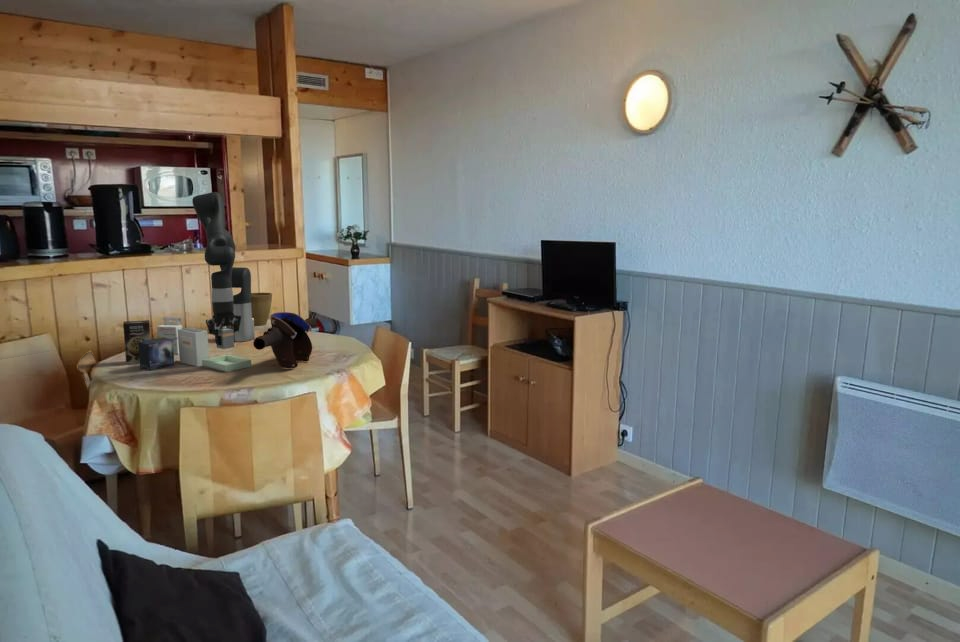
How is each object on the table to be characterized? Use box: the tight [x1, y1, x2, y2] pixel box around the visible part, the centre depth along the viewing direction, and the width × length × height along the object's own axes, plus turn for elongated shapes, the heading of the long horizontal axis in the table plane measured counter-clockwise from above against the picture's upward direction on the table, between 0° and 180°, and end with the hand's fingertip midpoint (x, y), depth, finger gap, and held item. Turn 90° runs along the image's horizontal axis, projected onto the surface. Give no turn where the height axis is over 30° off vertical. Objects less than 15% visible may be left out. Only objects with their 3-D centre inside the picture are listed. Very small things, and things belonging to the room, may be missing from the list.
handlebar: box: [252, 311, 318, 369], centre depth 246 cm, size 45×13×20 cm, turn 170°
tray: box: [201, 354, 252, 373], centre depth 244 cm, size 11×15×3 cm
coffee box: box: [122, 320, 151, 365], centre depth 248 cm, size 9×6×16 cm
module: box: [216, 327, 235, 350], centre depth 242 cm, size 5×5×7 cm
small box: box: [138, 337, 176, 372], centre depth 241 cm, size 11×6×10 cm, turn 148°
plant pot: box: [251, 292, 273, 327], centre depth 330 cm, size 15×15×16 cm
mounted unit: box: [177, 327, 210, 367], centre depth 248 cm, size 6×12×13 cm, turn 56°
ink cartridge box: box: [156, 316, 183, 356], centre depth 263 cm, size 9×5×15 cm, turn 84°
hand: (225, 343), depth 242 cm, fingers closed on module, 4 cm apart
